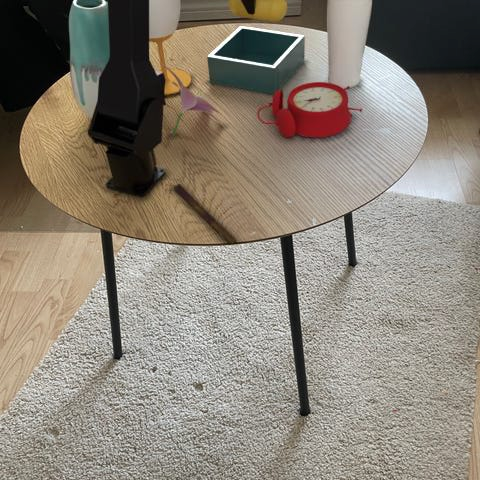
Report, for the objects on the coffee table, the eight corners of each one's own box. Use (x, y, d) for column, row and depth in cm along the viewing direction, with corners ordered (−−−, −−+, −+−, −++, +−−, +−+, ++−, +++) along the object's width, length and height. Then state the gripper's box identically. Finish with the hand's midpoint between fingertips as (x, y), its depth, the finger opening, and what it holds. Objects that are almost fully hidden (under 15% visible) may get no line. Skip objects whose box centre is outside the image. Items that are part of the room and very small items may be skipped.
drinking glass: (316, 79, 102) (319, -15, 91) (350, 69, 104) (357, -25, 93) (336, 96, 98) (343, -1, 87) (371, 85, 100) (382, -11, 88)
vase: (165, 106, 99) (145, -9, 85) (118, 141, 93) (89, 22, 79) (113, 90, 104) (87, -22, 90) (66, 122, 98) (30, 7, 84)
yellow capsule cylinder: (281, 27, 94) (280, 1, 91) (225, 19, 98) (223, -7, 95) (291, 17, 97) (291, -9, 94) (236, 9, 100) (234, -16, 97)
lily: (222, 156, 91) (241, 92, 86) (146, 135, 87) (161, 67, 83) (213, 137, 101) (229, 79, 97) (144, 118, 98) (158, 57, 93)
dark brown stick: (179, 186, 85) (173, 188, 84) (179, 183, 84) (173, 186, 84) (236, 242, 76) (230, 245, 76) (236, 239, 76) (229, 242, 75)
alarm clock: (368, 110, 88) (270, 103, 84) (355, 148, 92) (262, 142, 89) (349, 77, 94) (257, 69, 91) (338, 114, 99) (250, 107, 96)
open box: (275, 95, 100) (274, 68, 96) (209, 82, 104) (206, 56, 100) (304, 61, 107) (304, 35, 103) (241, 51, 111) (240, 25, 108)
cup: (202, 80, 104) (190, -20, 92) (163, 101, 100) (146, 0, 88) (168, 65, 109) (152, -32, 97) (129, 85, 105) (108, -13, 93)
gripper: (276, -82, 76) (278, 40, 88) (329, -122, 87) (325, -8, 99) (201, -88, 80) (212, 30, 92) (260, -126, 91) (264, -16, 102)
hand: (257, 8), depth 96 cm, fingers closed on yellow capsule cylinder, 4 cm apart
